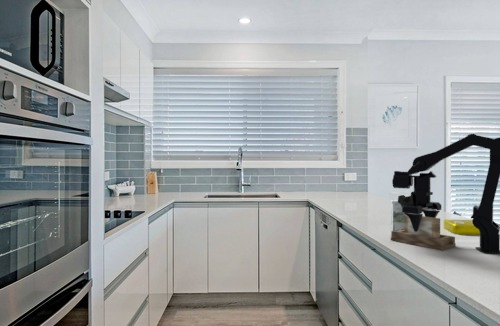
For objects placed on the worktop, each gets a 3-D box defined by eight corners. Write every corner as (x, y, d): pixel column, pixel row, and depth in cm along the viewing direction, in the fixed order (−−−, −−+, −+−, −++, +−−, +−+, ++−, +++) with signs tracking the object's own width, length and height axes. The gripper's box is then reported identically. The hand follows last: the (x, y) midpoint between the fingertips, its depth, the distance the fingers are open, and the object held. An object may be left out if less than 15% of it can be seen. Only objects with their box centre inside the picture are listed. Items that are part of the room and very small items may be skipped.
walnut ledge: (455, 246, 131) (455, 236, 131) (442, 250, 125) (442, 240, 125) (404, 236, 147) (404, 228, 147) (390, 240, 141) (390, 231, 141)
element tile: (493, 236, 149) (493, 225, 149) (454, 235, 152) (454, 223, 152) (477, 229, 164) (477, 219, 164) (442, 228, 167) (442, 218, 167)
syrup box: (405, 232, 156) (405, 199, 155) (407, 235, 150) (407, 201, 150) (391, 231, 157) (391, 199, 157) (392, 234, 151) (392, 200, 151)
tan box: (440, 242, 132) (440, 218, 132) (435, 244, 130) (435, 219, 130) (409, 237, 142) (409, 214, 142) (404, 238, 140) (404, 215, 140)
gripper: (414, 186, 148) (414, 224, 148) (388, 189, 137) (389, 229, 137) (442, 188, 139) (442, 228, 139) (417, 191, 128) (417, 234, 128)
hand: (422, 230), depth 136 cm, fingers open, 9 cm apart
